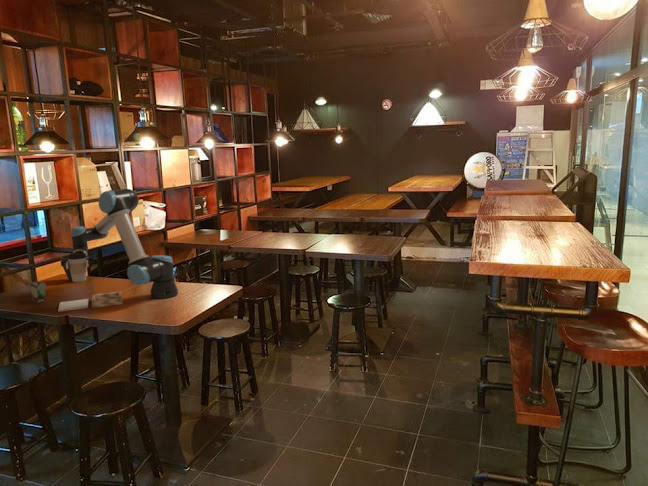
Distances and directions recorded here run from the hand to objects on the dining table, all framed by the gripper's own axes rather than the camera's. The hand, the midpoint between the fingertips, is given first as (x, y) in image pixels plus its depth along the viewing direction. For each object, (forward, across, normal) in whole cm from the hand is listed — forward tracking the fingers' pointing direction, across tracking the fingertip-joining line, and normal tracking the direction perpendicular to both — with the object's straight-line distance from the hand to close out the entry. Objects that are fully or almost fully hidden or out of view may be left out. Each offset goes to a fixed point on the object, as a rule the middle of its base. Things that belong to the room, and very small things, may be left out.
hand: (77, 265), depth 261 cm
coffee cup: (-5, 0, -9) cm, 10 cm away
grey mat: (-3, +4, -23) cm, 23 cm away
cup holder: (-3, -13, -23) cm, 26 cm away
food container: (-22, +21, -23) cm, 38 cm away
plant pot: (-60, +6, -23) cm, 64 cm away
